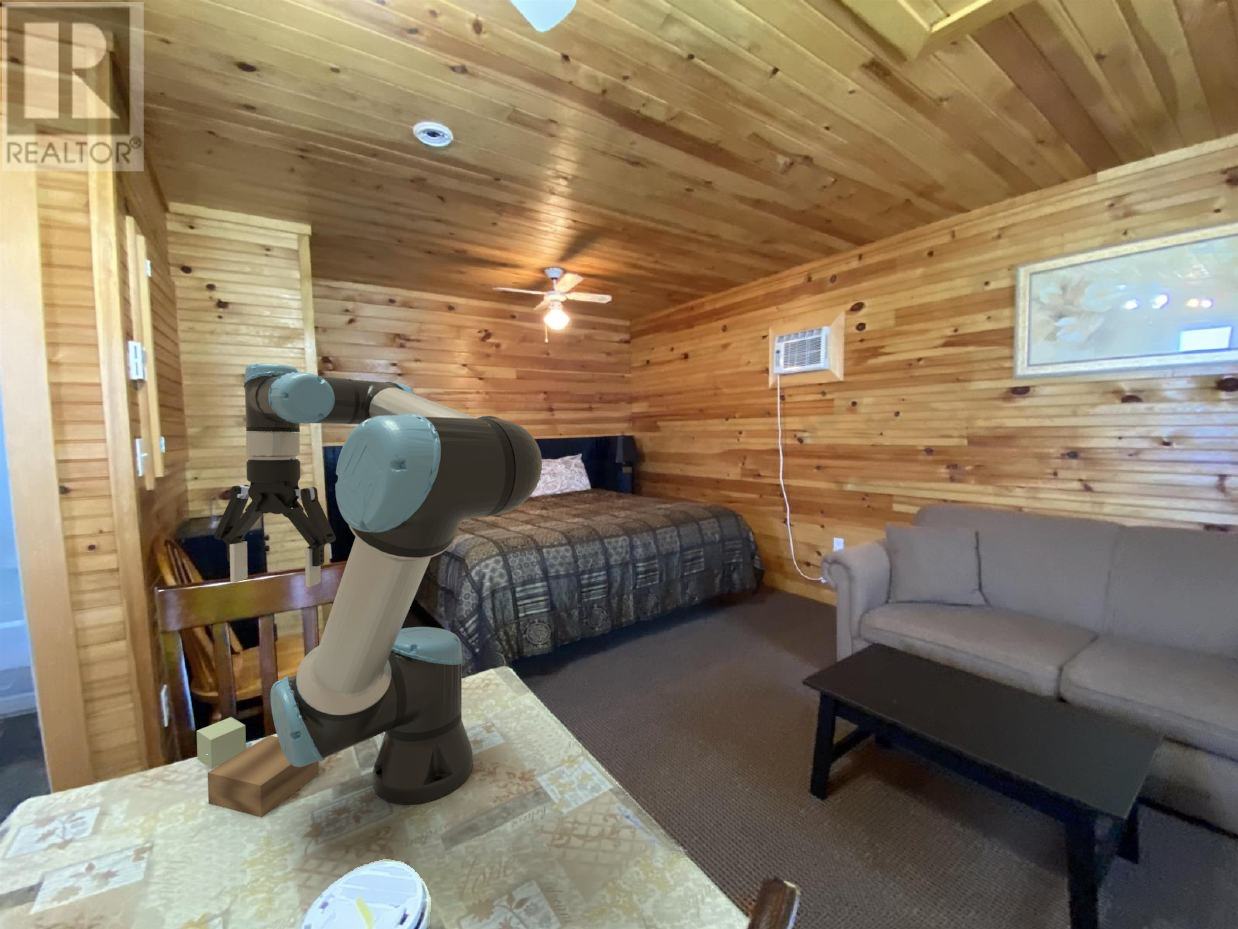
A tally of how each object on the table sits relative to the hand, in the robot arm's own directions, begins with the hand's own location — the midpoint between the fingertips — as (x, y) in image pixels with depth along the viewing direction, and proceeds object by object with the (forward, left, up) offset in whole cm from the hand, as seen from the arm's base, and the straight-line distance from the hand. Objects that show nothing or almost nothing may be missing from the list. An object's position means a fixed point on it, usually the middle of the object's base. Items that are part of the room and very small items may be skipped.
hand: (275, 582), depth 88 cm
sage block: (+8, +3, -30) cm, 31 cm away
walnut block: (-5, +9, -30) cm, 31 cm away
